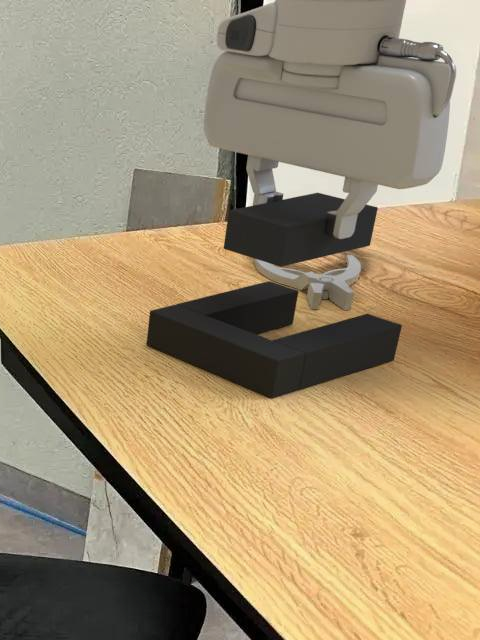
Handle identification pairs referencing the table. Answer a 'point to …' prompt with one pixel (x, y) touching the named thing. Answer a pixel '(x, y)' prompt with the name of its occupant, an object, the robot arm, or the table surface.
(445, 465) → the table surface
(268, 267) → the pliers
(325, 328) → the black u-shaped frame
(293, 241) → the black block
